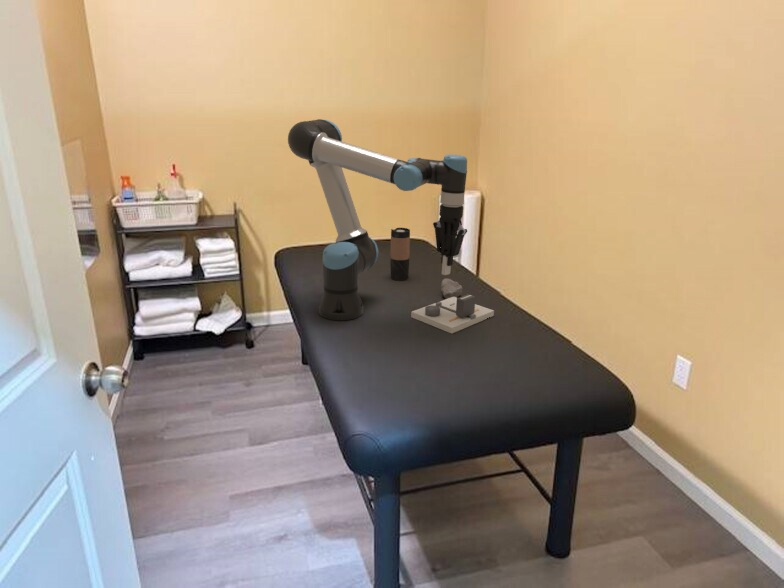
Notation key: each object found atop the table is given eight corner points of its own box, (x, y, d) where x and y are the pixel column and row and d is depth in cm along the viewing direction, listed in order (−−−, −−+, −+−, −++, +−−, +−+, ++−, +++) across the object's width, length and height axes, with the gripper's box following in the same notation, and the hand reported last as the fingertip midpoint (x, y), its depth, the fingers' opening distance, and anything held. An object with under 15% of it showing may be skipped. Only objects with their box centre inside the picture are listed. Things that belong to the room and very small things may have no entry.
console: (451, 333, 181) (452, 322, 180) (411, 317, 194) (411, 306, 192) (493, 315, 196) (494, 305, 194) (453, 301, 208) (453, 291, 207)
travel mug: (408, 281, 228) (410, 232, 221) (389, 280, 228) (390, 232, 221) (408, 275, 236) (410, 227, 229) (390, 274, 236) (391, 227, 229)
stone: (446, 301, 208) (446, 286, 206) (432, 293, 217) (433, 278, 215) (465, 298, 212) (465, 283, 210) (451, 290, 220) (451, 275, 218)
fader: (462, 317, 187) (463, 300, 185) (455, 315, 189) (456, 297, 187) (474, 313, 191) (475, 296, 189) (467, 310, 193) (468, 293, 191)
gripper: (475, 207, 182) (468, 276, 190) (444, 199, 190) (438, 266, 199) (459, 209, 177) (453, 281, 185) (429, 202, 185) (424, 270, 194)
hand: (445, 273), depth 192 cm, fingers closed
